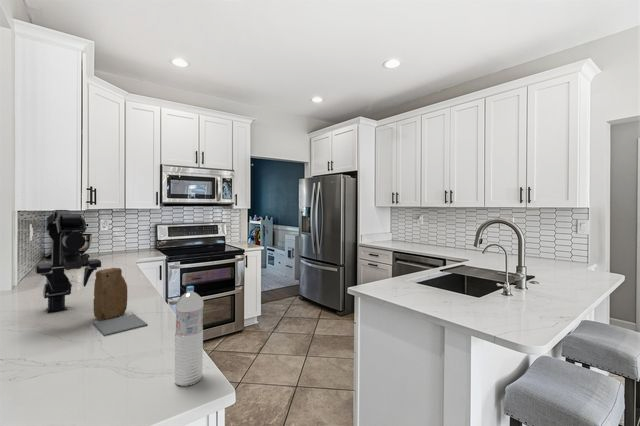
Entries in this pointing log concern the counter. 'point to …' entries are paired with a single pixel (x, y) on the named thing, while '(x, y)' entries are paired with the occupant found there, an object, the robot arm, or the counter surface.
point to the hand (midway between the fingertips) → (69, 288)
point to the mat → (119, 324)
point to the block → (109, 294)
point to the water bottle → (189, 338)
